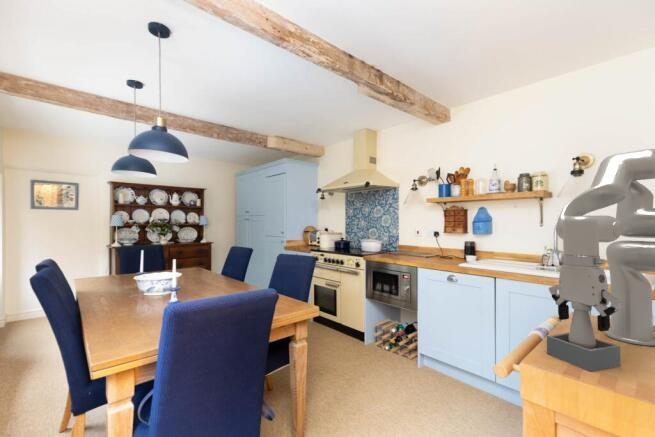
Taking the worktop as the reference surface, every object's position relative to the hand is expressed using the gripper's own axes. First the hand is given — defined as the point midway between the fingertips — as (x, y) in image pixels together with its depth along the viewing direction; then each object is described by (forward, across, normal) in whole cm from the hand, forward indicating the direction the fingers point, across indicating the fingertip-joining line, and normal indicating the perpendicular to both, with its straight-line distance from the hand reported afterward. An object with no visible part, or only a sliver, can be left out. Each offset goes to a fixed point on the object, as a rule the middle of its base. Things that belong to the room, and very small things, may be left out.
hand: (582, 324), depth 82 cm
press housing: (+9, 0, +1) cm, 9 cm away
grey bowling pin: (+7, 0, 0) cm, 7 cm away
